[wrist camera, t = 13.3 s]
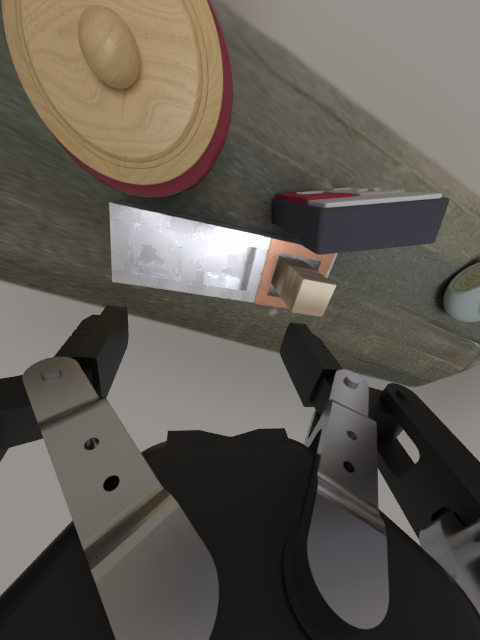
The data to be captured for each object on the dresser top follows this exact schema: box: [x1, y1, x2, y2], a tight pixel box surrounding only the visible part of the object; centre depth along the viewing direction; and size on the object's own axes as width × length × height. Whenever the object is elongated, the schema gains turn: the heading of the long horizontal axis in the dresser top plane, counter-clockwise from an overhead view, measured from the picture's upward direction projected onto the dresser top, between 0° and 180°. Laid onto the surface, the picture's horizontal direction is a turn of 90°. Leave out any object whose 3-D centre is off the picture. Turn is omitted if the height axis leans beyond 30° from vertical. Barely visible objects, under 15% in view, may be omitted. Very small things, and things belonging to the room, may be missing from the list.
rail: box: [109, 200, 338, 309], centre depth 32 cm, size 9×28×4 cm, turn 77°
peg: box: [271, 255, 336, 317], centre depth 30 cm, size 4×4×10 cm
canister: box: [2, 0, 233, 197], centre depth 18 cm, size 13×13×18 cm
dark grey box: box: [272, 187, 449, 255], centre depth 25 cm, size 11×4×15 cm, turn 94°
